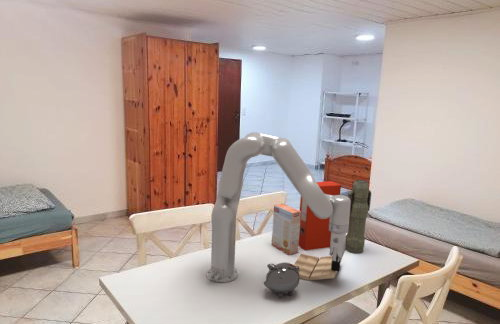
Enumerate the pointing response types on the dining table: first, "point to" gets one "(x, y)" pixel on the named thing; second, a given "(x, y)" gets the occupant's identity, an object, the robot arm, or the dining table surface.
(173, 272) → the dining table surface
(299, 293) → the dining table surface
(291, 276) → the piggy bank
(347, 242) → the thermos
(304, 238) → the file binder
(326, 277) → the board
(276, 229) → the cracker box
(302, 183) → the robot arm
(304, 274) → the laid planks
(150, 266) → the dining table surface
